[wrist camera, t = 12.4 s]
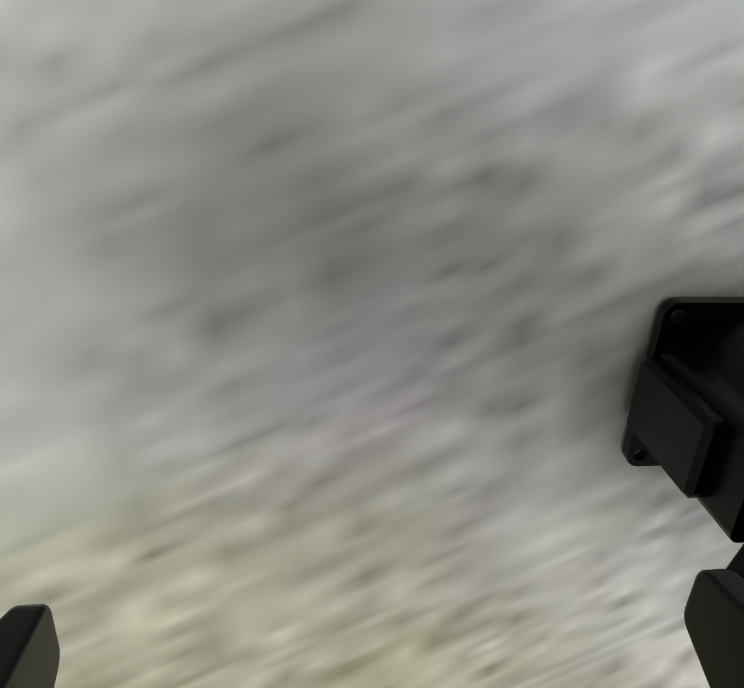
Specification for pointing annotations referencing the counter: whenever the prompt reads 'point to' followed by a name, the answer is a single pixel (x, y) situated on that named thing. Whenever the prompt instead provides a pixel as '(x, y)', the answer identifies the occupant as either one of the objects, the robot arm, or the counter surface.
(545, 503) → the counter surface
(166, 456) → the counter surface
